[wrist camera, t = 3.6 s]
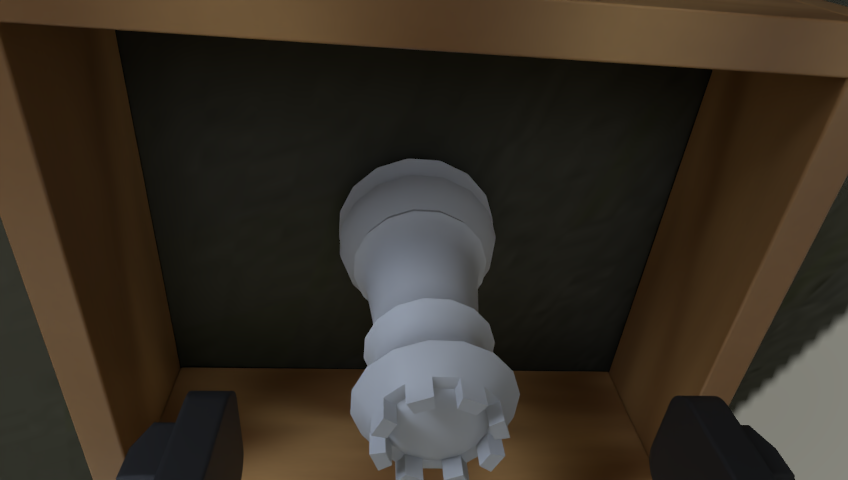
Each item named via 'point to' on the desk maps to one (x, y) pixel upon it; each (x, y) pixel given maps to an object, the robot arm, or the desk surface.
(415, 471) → the rook chess piece
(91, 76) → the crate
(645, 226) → the desk surface
